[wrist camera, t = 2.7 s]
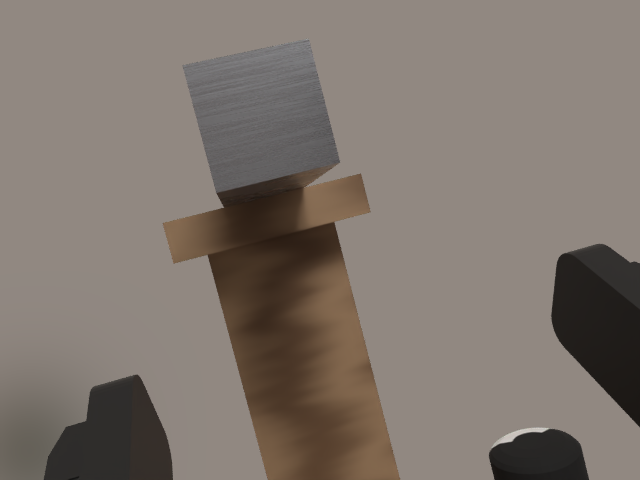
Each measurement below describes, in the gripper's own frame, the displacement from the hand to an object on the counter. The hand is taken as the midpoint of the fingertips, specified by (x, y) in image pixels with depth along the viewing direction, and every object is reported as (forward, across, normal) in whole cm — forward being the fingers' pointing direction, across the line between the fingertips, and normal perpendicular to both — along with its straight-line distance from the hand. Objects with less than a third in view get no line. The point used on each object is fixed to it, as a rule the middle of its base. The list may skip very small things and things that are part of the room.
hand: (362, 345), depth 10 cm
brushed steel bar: (+19, 0, +6) cm, 20 cm away
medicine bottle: (+8, -14, +37) cm, 40 cm away
